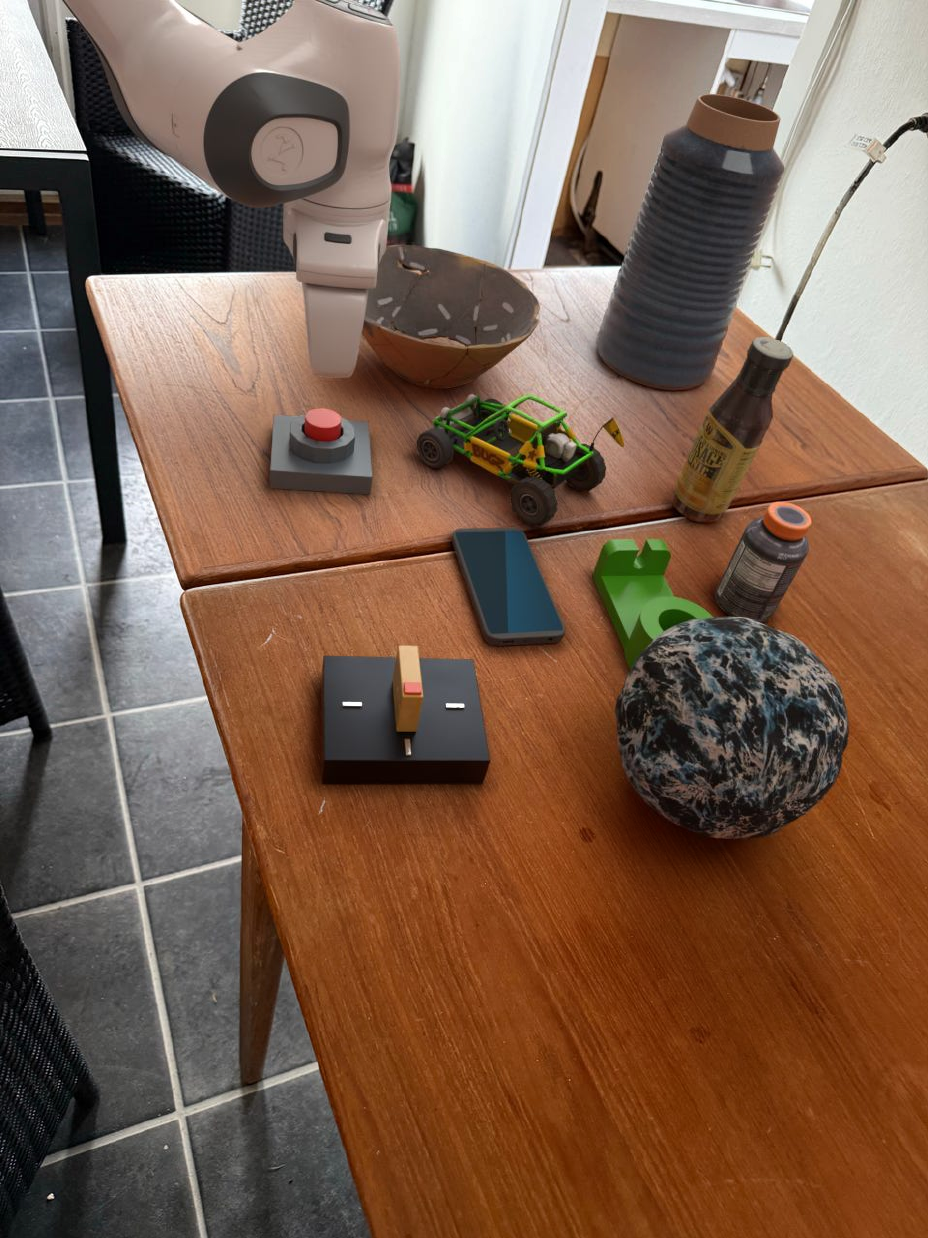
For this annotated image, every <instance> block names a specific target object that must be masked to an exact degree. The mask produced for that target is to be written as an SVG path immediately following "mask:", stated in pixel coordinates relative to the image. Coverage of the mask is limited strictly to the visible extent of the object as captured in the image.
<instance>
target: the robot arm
mask: <svg viewBox="0 0 928 1238" xmlns="http://www.w3.org/2000/svg"><path fill="white" fill-rule="evenodd" d="M61 1H62V3H63V4H64V5H65V7H66V8H67V9H68V11H69V12H70V13H71V14H72V15H73V17H74V18H75V20H76V21H77V23H78V24H79V25H80V27H81V28H82V29H83V31H84V32H85V34H86V35H87V37H88V39H89V40H90V41H91V43H92V45H93V47H94V49H95V51H96V53H97V55H98V57H99V60H100V61H101V65H102V67H103V71H104V73H105V76H106V80H107V83H108V86H109V88H110V91H111V94H112V97H113V100H114V103H115V104H116V107H117V109H118V111H119V113H120V115H121V117H122V119H123V121H124V122H125V123H126V125H127V126H128V128H129V129H130V131H132V133H133V134H134V135H135V136H136V137H137V138H138V139H139V140H141V142H143V143H145V144H146V145H147V146H149V147H151V148H153V149H154V150H156V151H158V152H160V153H161V154H162V155H165V156H167V157H169V158H171V159H172V160H174V161H175V162H176V163H178V164H179V165H181V166H182V167H183V168H185V169H186V170H187V171H188V172H190V173H191V174H193V175H194V176H195V177H197V178H198V179H199V180H201V181H204V183H206V184H207V185H208V186H210V187H211V188H212V189H214V190H216V191H217V192H218V193H220V195H223V196H224V197H226V198H227V199H230V200H232V201H233V202H235V203H237V204H239V205H242V206H246V207H250V208H254V209H255V208H256V209H265V208H271V207H275V206H279V205H280V206H281V205H282V206H283V207H282V209H283V211H282V212H283V213H282V215H283V216H282V239H283V242H284V243H285V245H286V247H287V248H288V250H289V252H290V255H291V256H292V260H293V264H294V265H293V266H294V272H295V279H296V281H297V282H299V283H301V290H302V297H303V309H304V322H305V333H306V334H305V335H306V347H307V356H308V364H309V369H310V372H311V373H312V374H313V375H315V376H318V377H321V378H328V379H329V378H330V379H335V378H340V379H341V378H342V379H347V378H350V377H352V375H353V374H354V371H355V369H356V365H357V361H358V356H359V351H360V347H361V341H362V336H363V335H362V330H363V324H364V318H365V312H366V306H367V299H368V289H374V288H375V287H376V283H377V276H378V265H379V263H380V261H381V258H382V256H383V255H384V253H385V251H386V246H387V242H388V235H389V234H388V232H389V221H390V212H391V202H392V183H391V177H390V162H391V157H392V154H393V151H394V149H395V146H396V144H397V137H398V130H399V129H398V127H399V118H400V108H401V107H400V105H401V85H402V84H401V83H402V79H401V78H402V71H401V69H402V66H401V65H402V64H401V51H400V42H399V38H398V34H397V30H396V27H395V26H394V24H393V23H392V22H391V21H390V19H389V18H388V17H387V15H385V14H383V12H381V11H379V10H377V9H375V8H373V7H371V6H369V5H366V4H364V3H363V2H361V1H356V0H293V3H292V4H291V6H290V8H289V9H287V11H286V12H284V13H283V14H282V15H281V17H279V18H278V19H277V20H276V21H275V22H274V23H272V24H271V25H270V26H268V27H267V28H265V29H264V30H263V31H261V32H259V33H257V34H255V35H254V36H252V37H250V38H248V39H245V40H241V41H238V40H235V39H233V38H232V37H230V36H228V35H226V34H224V32H221V31H220V30H218V29H217V28H215V27H214V26H213V25H212V24H211V23H209V22H208V21H206V20H204V18H202V17H200V16H198V15H197V14H196V13H194V12H193V11H191V10H190V9H188V8H186V7H185V6H183V5H181V4H180V3H178V2H177V1H176V0H61Z"/></svg>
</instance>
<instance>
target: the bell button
mask: <svg viewBox="0 0 928 1238" xmlns="http://www.w3.org/2000/svg"><path fill="white" fill-rule="evenodd" d="M305 414H306V415H305V430H304V431H305V434H306V436H307V437H309V438H310V439H313V440H315V441H322V442H330V441H334V440H337V439H338V438H339V436H340V432H341V417H342V416H341V415H340V414H339V413H338V412H337V411H335V410H333V409H330V408H324V407H318V408H313V409H310V410H309V411H307V412H306V413H305Z"/></svg>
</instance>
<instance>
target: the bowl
mask: <svg viewBox="0 0 928 1238" xmlns="http://www.w3.org/2000/svg"><path fill="white" fill-rule="evenodd" d="M403 265H404V266H405V267H408V268H410V269H412V270H409V269H407V268H405V267H404V266H403ZM413 270H416V271H419V272H420V273H418V272H415V271H413ZM540 310H541V304H540V301H539V300H538V298H537V296H536V295H535V294H534V293H533V291H531V290H530V288H529V287H528V285H527V284H526V283H525V282H524V281H522V280H521V279H519V278H518V277H516V276H515V275H513V273H511V272H509V271H508V270H506V268H505V269H504V268H503V267H501V266H499V265H496V264H494V263H492V262H489V261H487V260H483V259H479V258H476V257H474V256H470V255H466V254H462V253H459V252H455V251H451V250H447V249H442V248H438V247H427V246H420V245H412V244H411V245H410V244H406V245H405V244H390V245H389V244H388V245H387V244H386V251H385V253H384V255H383V256H382V258H381V261H380V263H379V265H378V276H377V283H376V287H375V288H374V289H368V299H367V306H366V312H365V318H364V324H363V330H362V335H361V336H362V337H363V338H364V339H365V340H366V342H367V343H368V345H369V346H370V347H371V348H372V350H373V351H374V352H375V353H376V355H377V356H378V357H379V358H380V359H381V360H382V362H383V363H385V365H387V367H388V368H390V369H391V370H392V371H393V372H394V373H395V374H396V375H397V376H398V377H400V378H401V379H402V380H404V381H407V382H408V383H410V384H413V385H415V386H417V387H421V388H425V389H426V388H427V389H434V390H439V389H441V390H445V389H453V388H456V387H459V386H463V385H465V384H469V383H471V382H474V381H475V380H476V379H478V378H479V377H481V376H482V375H484V374H485V373H487V372H488V371H489V370H491V369H492V368H494V367H495V366H497V364H499V363H500V362H502V361H503V359H505V358H506V357H507V356H508V355H510V354H511V353H512V352H513V351H515V349H518V347H519V346H520V345H522V344H523V343H524V342H525V341H526V340H528V338H529V337H530V336H531V335H532V334H533V332H534V331H535V330H536V329H537V327H538V325H539V324H540V321H541V320H540V319H539V318H538V315H539V313H540ZM437 338H443V339H446V338H447V339H448V340H450V341H454V342H457V343H459V344H462V345H458V344H452V343H447V342H439V341H433V340H434V339H437ZM427 339H428V340H427ZM431 340H432V341H431Z"/></svg>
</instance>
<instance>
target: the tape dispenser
mask: <svg viewBox="0 0 928 1238" xmlns="http://www.w3.org/2000/svg"><path fill="white" fill-rule="evenodd" d="M670 551H671V550H669V548H668V546H667V544H666V542H665V540H663V539H661V538H646V539H645V542H644V544H643V547H642V549H641V552H640V550H639V547H638V545H637V543H636V541H635V539H634V538H612V539H610V540H608V541H606V542H605V543H603V545H602V547H601V549H600V553H599V555H598V558H597V562H596V564H595V566H594V569H593V572H592V574H591V577H592V579H593V580H594V583H595V586H596V588H597V591H598V592H599V595H600V597H601V599H602V602H603V604H604V606H605V608H606V611H607V613H608V615H609V616H608V617H609V618H610V620H611V622H612V624H613V627H614V629H615V632H616V634H617V636H618V639H619V641H620V643H621V646H622V647H623V650H624V659H625V662H626V665H627V666H628V668H629V669H630V670H631V668H632V666H633V664H634V662H635V661H636V659H637V658H638V656H639V655H640V654H641V653H642V652H643V651H644V650H645V649H646V648H647V647H648V646H649V644H650V643H651V642H652V641H653V640H654V639H655V638H656V637H657V636H659V635H660V634H661V633H663V632H664V631H666V630H667V629H669V628H671V627H673V626H675V625H678V624H680V623H683V622H686V621H689V620H693V619H704V618H713V617H714V616H713V615H712V614H711V613H709V612H708V611H707V610H706V609H705V608H704V607H701V606H700V605H699V604H697V603H696V602H692V601H691V600H689V599H685V598H682V597H677V596H675V594H674V593H673V591H672V589H671V587H670V585H669V583H668V582H667V580H666V578H665V572H666V570H667V568H668V566H669V563H670V561H671V559H672V554H671V552H670ZM639 552H640V553H639Z"/></svg>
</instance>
